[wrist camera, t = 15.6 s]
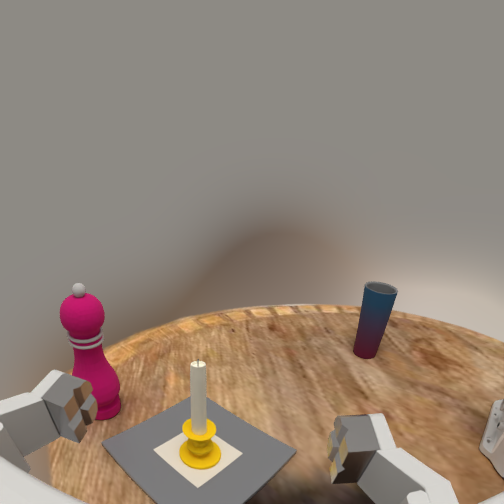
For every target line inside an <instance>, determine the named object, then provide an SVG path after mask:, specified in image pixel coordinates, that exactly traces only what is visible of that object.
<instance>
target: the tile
mask: <svg viewBox="0 0 504 504" xmlns="http://www.w3.org/2000/svg"><path fill="white" fill-rule="evenodd" d="M206 412H207V419H209V420H211V421H212V422H213V423H214V424H215V426H216V433H215V435H214V436H213V437H212V438H211V440H212V441H213V442H215V443H216V444H217V445H218V446H219V448H220V450H221V459H220V461H219V462H218V463H217V464H216V465H215V466H214V467H212V468H209V469H201V470H199V469H194V468H191V467H189V466H187V465H186V464H184V463H183V461H182V460H181V458H180V455H179V449H180V447H181V445H182V444H183V443H184V442H185V441H187V440H188V437H186V436H185V434H184V433H183V431H182V426H183V424H184V423H185V421H187V420H188V419H190V418H191V396H190V397H189V398H187V399H185V400H183V401H181V402H180V403H178V404H176V405H174V406H172V407H170V408H169V409H167V410H165V411H163V412H161V413H159V414H157V415H155V416H154V417H152V418H150V419H148V420H146V421H144V422H142V423H140V424H138V425H136V426H134V427H132V428H130V429H128V430H126V431H124V432H122V433H120V434H118V435H115V436H113V437H111V438H109V439H107V440H105V441H103V442H101V443H102V445H103V447H104V448H105V449H106V450H107V452H108V453H109V454H110V455H111V456H112V458H113V459H114V460H115V461H116V462H117V463H118V465H119V466H120V467H121V468H122V469H123V470H124V471H125V472H126V473H127V475H128V476H129V477H130V478H131V479H132V480H133V481H134V482H135V483H136V484H137V485H138V486H139V487H140V488H141V489H142V490H143V491H144V492H145V493H146V494H147V495H148V496H149V497H150V498H151V499H152V500H153V501H154V502H155V503H156V504H245V503H246V502H247V501H248V500H249V499H251V498H252V497H253V496H254V495H255V494H256V493H257V492H258V491H259V490H260V489H261V488H262V487H263V486H264V485H266V484H267V483H268V482H269V481H270V480H271V479H272V478H273V477H274V476H275V475H276V474H277V473H278V472H279V471H280V470H281V469H282V468H283V467H284V466H285V464H286V463H287V462H288V461H289V460H290V459H291V458H292V457H293V456H294V455H295V454H296V451H297V450H296V449H294V448H292V447H290V446H288V445H286V444H284V443H282V442H280V441H278V440H277V439H275V438H273V437H271V436H269V435H268V434H266V433H264V432H262V431H261V430H259V429H257V428H255V427H254V426H252V425H250V424H249V423H247V422H245V421H244V420H242V419H240V418H239V417H237V416H235V415H234V414H232V413H231V412H229V411H227V410H226V409H224V408H223V407H221V406H220V405H218V404H217V403H215V402H213V401H212V400H210V399H209V398H207V397H206Z"/></svg>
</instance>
